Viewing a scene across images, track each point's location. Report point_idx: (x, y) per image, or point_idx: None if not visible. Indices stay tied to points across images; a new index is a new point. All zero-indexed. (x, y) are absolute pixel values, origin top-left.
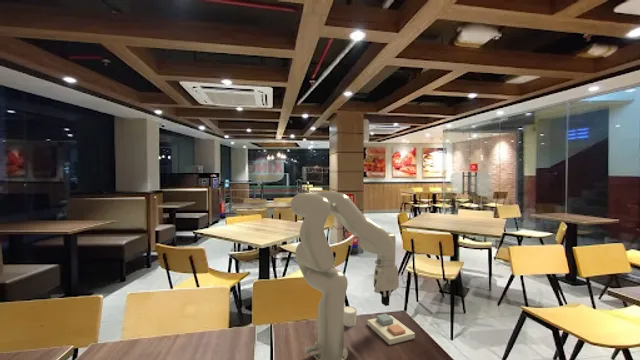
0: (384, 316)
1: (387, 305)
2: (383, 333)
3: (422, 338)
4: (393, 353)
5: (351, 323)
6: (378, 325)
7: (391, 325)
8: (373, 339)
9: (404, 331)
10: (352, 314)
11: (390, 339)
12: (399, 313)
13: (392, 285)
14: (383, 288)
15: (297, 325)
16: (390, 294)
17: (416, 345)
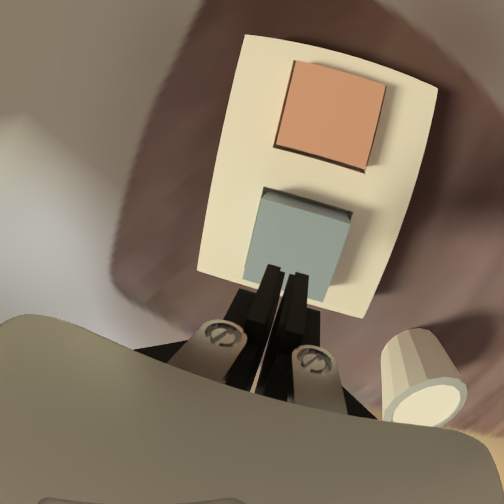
0: (286, 261)
1: (283, 273)
2: (420, 153)
3: (200, 45)
4: (441, 55)
5: (435, 344)
6: (368, 236)
7: (330, 158)
8: (433, 196)
9: (304, 63)
10: (450, 373)
11: (432, 86)
12: (118, 276)
13: (121, 449)
14: (443, 472)
15: (498, 419)
16: (204, 332)
17: (284, 18)
